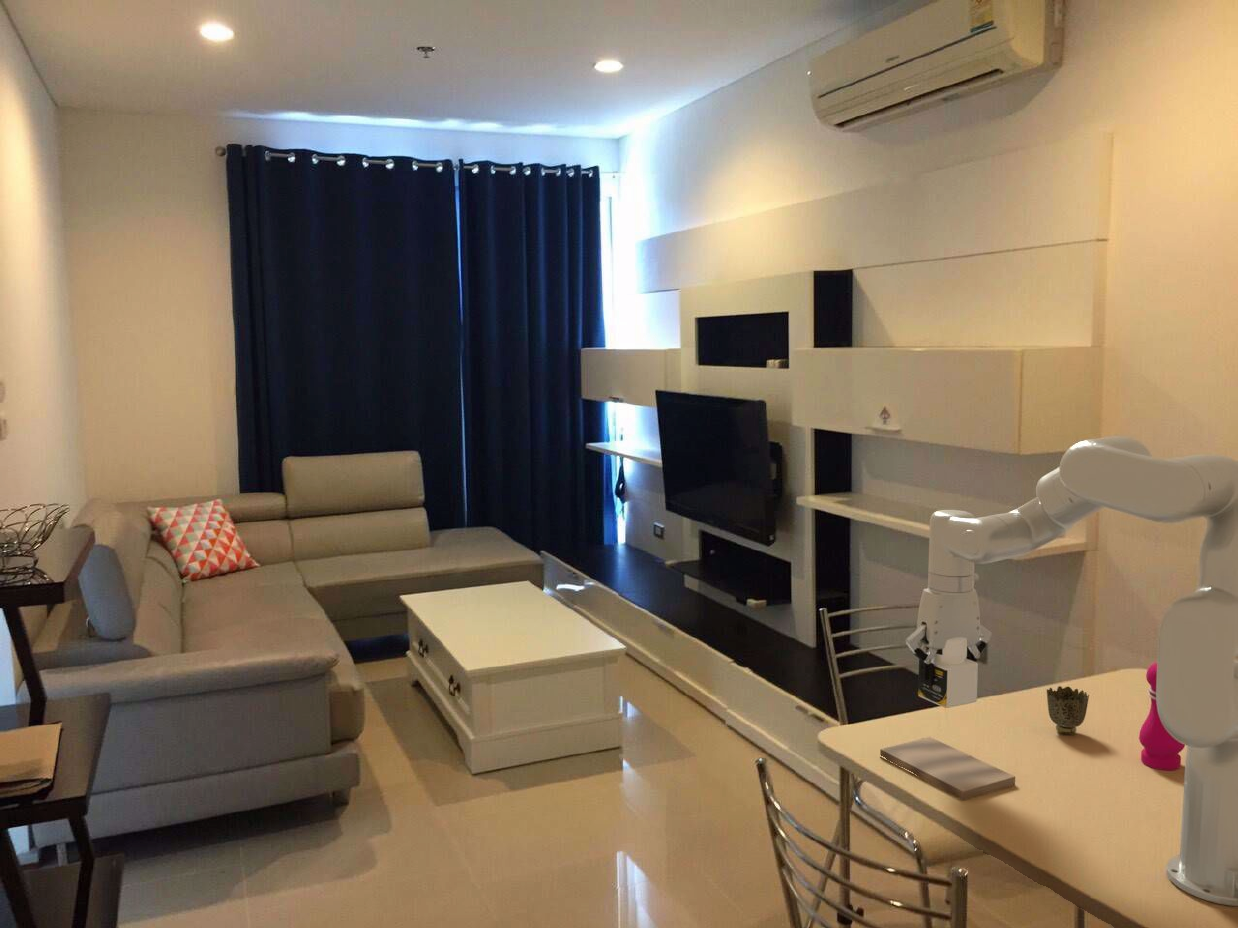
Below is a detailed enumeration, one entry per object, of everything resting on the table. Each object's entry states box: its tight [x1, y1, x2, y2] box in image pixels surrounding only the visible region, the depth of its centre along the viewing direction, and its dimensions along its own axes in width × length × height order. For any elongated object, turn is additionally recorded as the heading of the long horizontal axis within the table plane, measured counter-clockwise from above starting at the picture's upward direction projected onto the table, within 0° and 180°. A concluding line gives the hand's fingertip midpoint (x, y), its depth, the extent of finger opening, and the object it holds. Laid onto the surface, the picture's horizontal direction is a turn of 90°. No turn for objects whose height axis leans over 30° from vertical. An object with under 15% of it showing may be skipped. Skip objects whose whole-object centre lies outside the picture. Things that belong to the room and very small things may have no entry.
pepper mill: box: [1138, 662, 1186, 771], centre depth 183 cm, size 7×7×20 cm
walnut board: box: [879, 736, 1016, 801], centre depth 182 cm, size 20×12×2 cm, turn 27°
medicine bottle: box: [917, 637, 979, 709], centre depth 180 cm, size 7×7×12 cm
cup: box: [1046, 685, 1090, 736], centre depth 198 cm, size 8×7×8 cm
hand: (947, 680), depth 180 cm, fingers closed on medicine bottle, 7 cm apart
